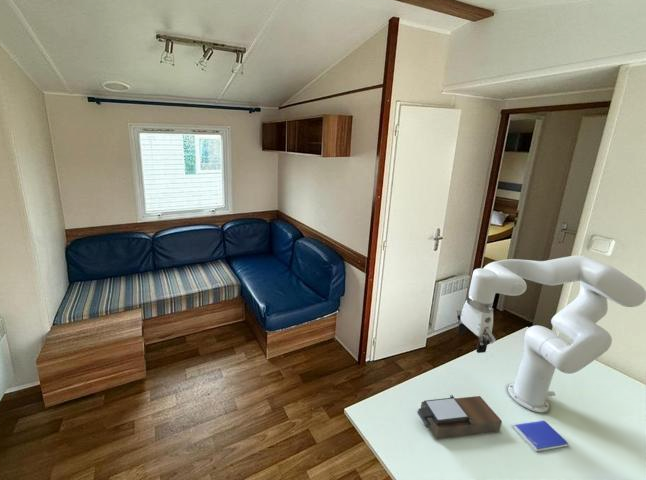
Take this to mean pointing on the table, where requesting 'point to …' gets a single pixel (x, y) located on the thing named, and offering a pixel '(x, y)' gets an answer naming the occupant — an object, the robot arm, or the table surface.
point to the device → (442, 412)
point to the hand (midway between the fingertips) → (470, 342)
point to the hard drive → (540, 435)
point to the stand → (478, 423)
